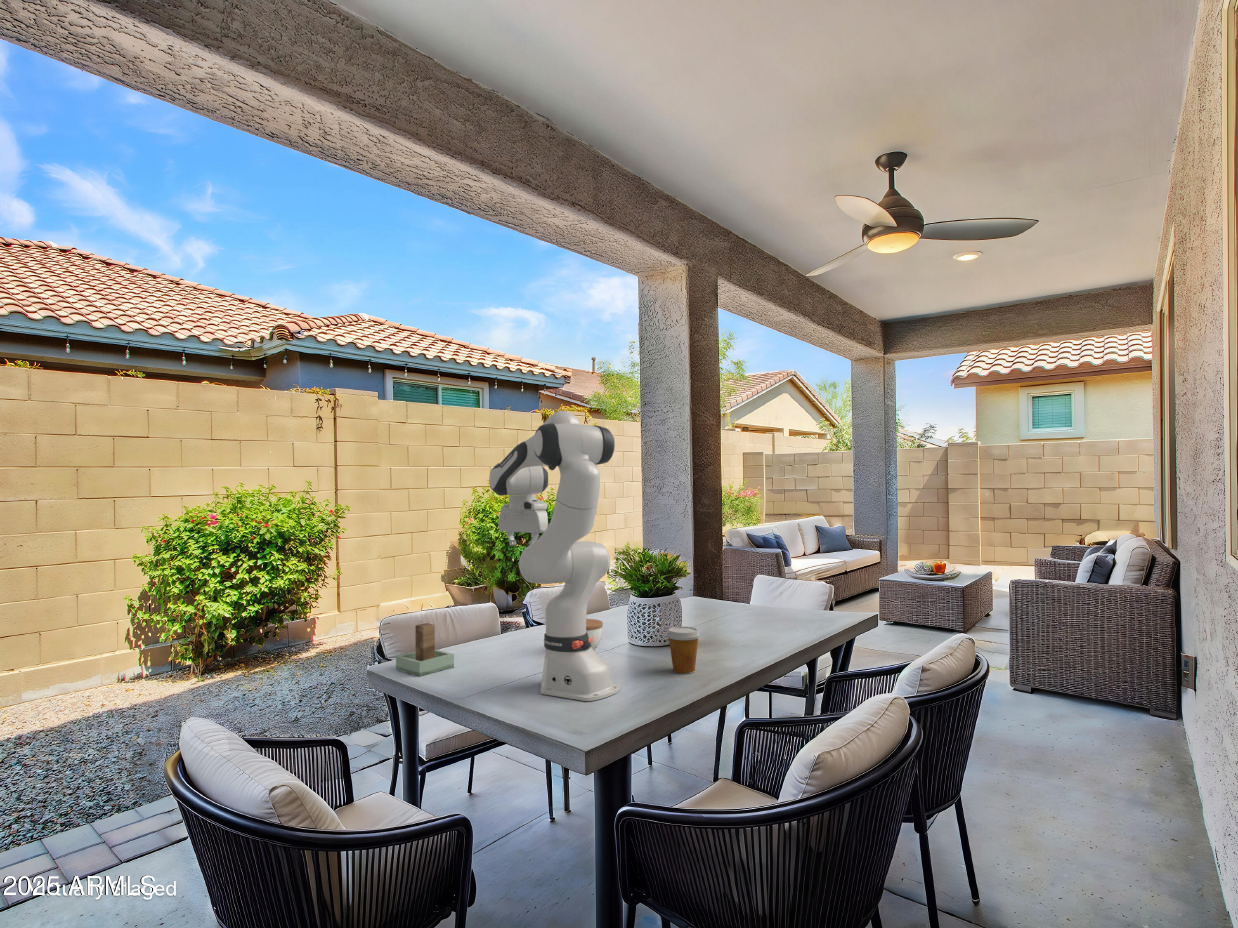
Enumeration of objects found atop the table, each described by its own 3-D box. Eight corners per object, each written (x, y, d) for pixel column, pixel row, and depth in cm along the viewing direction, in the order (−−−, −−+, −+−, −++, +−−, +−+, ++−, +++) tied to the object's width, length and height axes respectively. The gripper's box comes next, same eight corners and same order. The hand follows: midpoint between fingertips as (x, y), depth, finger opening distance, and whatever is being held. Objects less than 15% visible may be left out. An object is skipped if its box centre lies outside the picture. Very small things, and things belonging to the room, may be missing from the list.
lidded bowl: (586, 656, 207) (585, 622, 207) (557, 651, 215) (556, 617, 215) (610, 648, 217) (610, 615, 217) (581, 643, 225) (581, 611, 225)
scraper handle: (436, 665, 195) (436, 625, 196) (425, 668, 192) (425, 627, 193) (424, 662, 199) (424, 622, 199) (413, 664, 196) (413, 624, 196)
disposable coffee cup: (702, 667, 194) (701, 626, 194) (697, 676, 184) (697, 633, 185) (671, 665, 196) (670, 625, 196) (664, 674, 187) (664, 632, 187)
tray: (453, 667, 197) (453, 653, 197) (419, 676, 187) (419, 662, 187) (430, 660, 204) (430, 648, 204) (396, 669, 195) (396, 656, 195)
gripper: (494, 504, 219) (494, 545, 219) (536, 504, 207) (537, 548, 206) (508, 503, 224) (508, 544, 224) (550, 504, 212) (551, 546, 211)
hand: (522, 546), depth 215 cm, fingers open, 8 cm apart
